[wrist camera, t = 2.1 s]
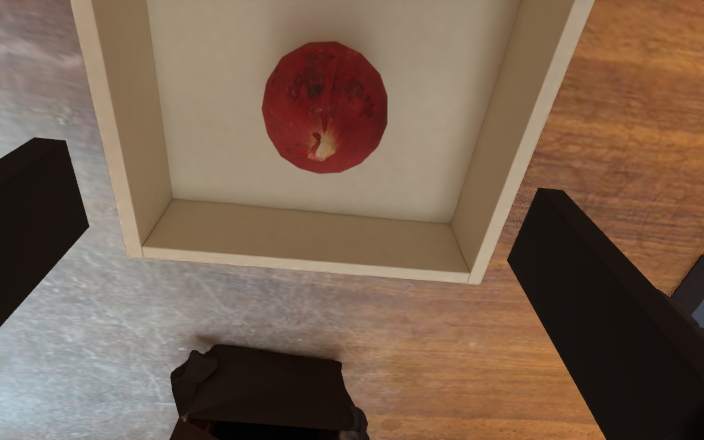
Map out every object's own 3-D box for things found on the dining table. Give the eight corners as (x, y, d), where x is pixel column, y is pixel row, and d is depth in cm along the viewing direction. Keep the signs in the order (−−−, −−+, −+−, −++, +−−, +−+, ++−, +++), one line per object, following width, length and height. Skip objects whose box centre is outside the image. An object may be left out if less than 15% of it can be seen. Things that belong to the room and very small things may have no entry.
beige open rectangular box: (561, -85, 18) (634, -95, 14) (457, 231, 28) (479, 285, 24) (108, -162, 17) (23, -202, 12) (163, 204, 26) (127, 257, 22)
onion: (265, 32, 20) (229, 72, 14) (380, 25, 20) (400, 61, 14) (282, 141, 24) (260, 216, 17) (381, 135, 24) (398, 208, 17)
